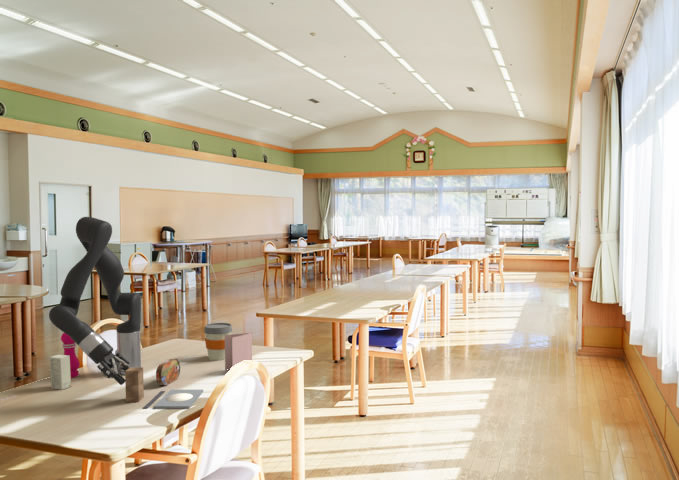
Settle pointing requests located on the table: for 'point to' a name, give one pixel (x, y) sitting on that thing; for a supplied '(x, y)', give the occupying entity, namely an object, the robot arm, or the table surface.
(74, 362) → the pepper mill
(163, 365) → the tin
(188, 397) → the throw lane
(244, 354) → the greeting card
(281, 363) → the table surface
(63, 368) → the skincare box
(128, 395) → the square wooden post
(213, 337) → the reusable coffee cup
